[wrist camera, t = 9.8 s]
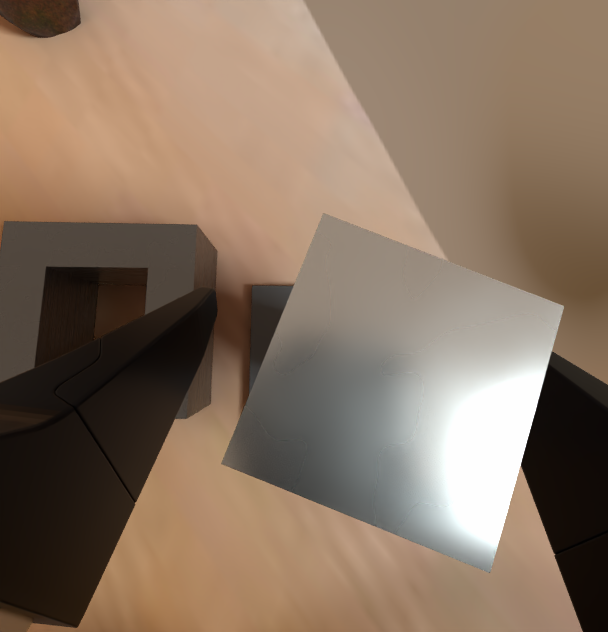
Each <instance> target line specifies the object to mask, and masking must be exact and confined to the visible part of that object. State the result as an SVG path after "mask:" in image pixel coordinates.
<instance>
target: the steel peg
mask: <svg viewBox="0 0 608 632" xmlns="http://www.w3.org/2000/svg"><path fill="white" fill-rule="evenodd" d="M563 308H564V306H562V305H560V304H557V303H554V302H551V301H549V300H547V299H544V298H541V297H539V296H536V295H534V294H531V293H529V292H526V291H523V290H521V289H518V288H516V287H513V286H511V285H508V284H505V283H503V282H500V281H497V280H495V279H492V278H490V277H487V276H485V275H482V274H480V273H477V272H474V271H472V270H469V269H467V268H464V267H461V266H459V265H456V264H453V263H451V262H449V261H446V260H443V259H441V258H438V257H436V256H433V255H431V254H428V253H425V252H423V251H420V250H418V249H415V248H412V247H410V246H407V245H405V244H402V243H400V242H397V241H394V240H392V239H389V238H387V237H384V236H381V235H379V234H376V233H374V232H371V231H369V230H366V229H363V228H361V227H358V226H356V225H353V224H350V223H348V222H345V221H343V220H340V219H338V218H335V217H332V216H330V215H327V214H325V213H323V215H322V218H321V220H320V223H319V225H318V228H317V230H316V232H315V235H314V237H313V240H312V242H311V245H310V247H309V250H308V252H307V255H306V257H305V259H304V262H303V264H302V267H301V269H300V272H299V274H298V277H297V279H296V282H295V284H294V286H293V289H292V291H291V294H290V296H289V299H288V301H287V304H286V306H285V309H284V311H283V313H282V316H281V318H280V321H279V323H278V326H277V328H276V331H275V333H274V336H273V338H272V340H271V343H270V345H269V348H268V350H267V353H266V355H265V358H264V360H263V363H262V365H261V367H260V370H259V372H258V375H257V377H256V380H255V382H254V385H253V387H252V390H251V392H250V394H249V397H248V399H247V402H246V404H245V407H244V409H243V412H242V414H241V416H240V419H239V421H238V424H237V426H236V429H235V431H234V434H233V436H232V439H231V441H230V443H229V446H228V448H227V451H226V453H225V456H224V458H223V461H222V463H221V464H223V465H225V466H228V467H230V468H233V469H235V470H238V471H240V472H243V473H245V474H248V475H250V476H253V477H255V478H257V479H260V480H262V481H265V482H267V483H270V484H272V485H275V486H277V487H280V488H282V489H285V490H287V491H289V492H292V493H294V494H297V495H299V496H302V497H304V498H307V499H309V500H312V501H314V502H316V503H319V504H321V505H324V506H326V507H329V508H331V509H334V510H336V511H339V512H341V513H344V514H346V515H348V516H351V517H353V518H356V519H358V520H361V521H363V522H366V523H368V524H371V525H373V526H376V527H378V528H380V529H383V530H385V531H388V532H390V533H393V534H395V535H398V536H400V537H403V538H405V539H408V540H410V541H412V542H415V543H417V544H420V545H422V546H425V547H427V548H430V549H432V550H435V551H437V552H440V553H442V554H444V555H447V556H449V557H452V558H454V559H457V560H459V561H462V562H464V563H467V564H469V565H472V566H474V567H476V568H479V569H481V570H484V571H486V572H489V573H490V571H491V568H492V564H493V560H494V557H495V553H496V550H497V546H498V542H499V539H500V535H501V532H502V528H503V524H504V521H505V517H506V514H507V510H508V506H509V503H510V499H511V496H512V492H513V488H514V485H515V481H516V478H517V474H518V470H519V467H520V463H521V460H522V456H523V452H524V449H525V445H526V442H527V438H528V434H529V431H530V427H531V424H532V420H533V416H534V413H535V409H536V406H537V402H538V398H539V395H540V391H541V388H542V384H543V380H544V377H545V373H546V370H547V366H548V362H549V359H550V355H551V352H552V348H553V344H554V341H555V337H556V334H557V330H558V327H559V323H560V319H561V316H562V312H563Z"/></svg>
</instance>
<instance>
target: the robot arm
mask: <svg viewBox="0 0 608 632" xmlns="http://www.w3.org/2000/svg"><path fill="white" fill-rule="evenodd" d="M216 317H217V300H216V291H215V289H214V288H209V287H199V288H197V289H195V290H193V291H191V292H189V293H187V294H185V295H183V296H181V297H179V298H177V299H175V300H174V301H172V302H170V303H168V304H166V305H164V306H162V307H160V308H158V309H156V310H154V311H152V312H150V313H148V314H146V315H144V316H142V317H140V318H138V319H136V320H134V321H132V322H130V323H128V324H126V325H124V326H122V327H120V328H118V329H116V330H114V331H112V332H109V333H107V334H105V335H103V336H102V337H101V338H97V339H95V340H93V341H91V342H89V343H87V344H85V345H83V346H81V347H79V348H77V349H75V350H73V351H71V352H69V353H67V354H65V355H62V356H60V357H58V358H56V359H53V360H51V361H49V362H46V363H44V364H42V365H40V366H37V367H35V368H33V369H30V370H28V371H26V372H23V373H21V374H18V375H16V376H14V377H11V378H9V379H7V380H4V381H2V382H0V632H27V631H28V629H29V627H30V625H31V624H32V623H39V624H47V625H56V626H64V627H73V628H77V627H78V626H79V624H80V622H81V620H82V618H83V616H84V614H85V612H86V610H87V607H88V605H89V603H90V601H91V599H92V597H93V595H94V592H95V590H96V588H97V586H98V584H99V582H100V579H101V577H102V575H103V573H104V571H105V569H106V567H107V564H108V562H109V560H110V558H111V556H112V554H113V551H114V549H115V547H116V545H117V543H118V541H119V538H120V536H121V534H122V532H123V530H124V528H125V526H126V523H127V521H128V519H129V517H130V515H131V513H132V510H133V508H134V506H135V502H136V501H137V499H138V497H139V495H140V493H141V491H142V489H143V486H144V484H145V482H146V480H147V478H148V476H149V473H150V471H151V469H152V467H153V465H154V463H155V461H156V458H157V456H158V454H159V452H160V450H161V448H162V445H163V443H164V441H165V439H166V437H167V435H168V433H169V430H170V428H171V426H172V424H173V422H174V420H175V417H176V415H177V413H178V411H179V409H180V407H181V405H182V402H183V400H184V398H185V396H186V394H187V392H188V389H189V387H190V385H191V383H192V381H193V379H194V377H195V374H196V372H197V370H198V368H199V366H200V364H201V361H202V359H203V357H204V354H205V351H206V348H207V345H208V342H209V339H210V336H211V332H212V329H213V326H214V323H215V320H216ZM520 464H521V467H522V470H523V472H524V475H525V478H526V480H527V483H528V486H529V488H530V491H531V494H532V496H533V499H534V502H535V504H536V507H537V510H538V512H539V515H540V518H541V520H542V523H543V526H544V528H545V531H546V534H547V536H548V539H549V542H550V545H551V547H552V550H553V552H554V554H555V559H556V561H557V564H558V567H559V569H560V572H561V575H562V577H563V580H564V583H565V585H566V588H567V591H568V593H569V596H570V599H571V601H572V604H573V607H574V609H575V612H576V615H577V618H578V620H579V623H580V626H581V628H582V631H583V632H608V385H607V384H605V383H604V382H602V381H600V380H599V379H597V378H595V377H594V376H592V375H590V374H588V373H587V372H585V371H584V370H582V369H581V368H579V367H577V366H576V365H573V364H572V363H571V362H569V361H567V360H566V359H564V358H562V357H561V356H559V355H557V354H556V353H554V352H551V355H550V359H549V362H548V366H547V370H546V373H545V377H544V380H543V384H542V388H541V391H540V395H539V398H538V402H537V406H536V409H535V413H534V416H533V420H532V424H531V427H530V431H529V434H528V438H527V442H526V445H525V449H524V452H523V456H522V460H521V463H520Z"/></svg>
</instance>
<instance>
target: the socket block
mask: <svg viewBox="0 0 608 632" xmlns="http://www.w3.org/2000/svg"><path fill="white" fill-rule="evenodd" d="M216 265H217V250H216V249H215V247H214V246H213V245H212V243H211V242H210V241H209V240H208V238H207V237H206V236H205V234H204V233H203V232H202V231H201V229H200V228H199V227H198V225H185V224H128V223H71V222H14V221H4V227H3V234H2V241H1V249H0V382H2V381H4V380H7V379H9V378H11V377H14V376H16V375H18V374H21V373H23V372H26V371H28V370H30V369H33V368H35V367H37V366H40V365H42V364H44V363H46V362H49V361H51V360H53V359H56V358H58V357H60V356H62V355H65V354H67V353H69V352H71V351H73V350H75V349H77V348H79V347H81V346H83V345H85V344H87V343H89V342H91V341H93V336H94V325H95V315H96V304H97V293H98V284H117V285H147V291H146V305H145V315H146V314H148V313H150V312H152V311H154V310H156V309H158V308H160V307H162V306H164V305H166V304H168V303H170V302H172V301H174V300H175V299H177V298H179V297H181V296H183V295H185V294H187V293H189V292H191V291H193V290H195V289H197V288H199V287H209V288H214V289H215V288H216ZM213 334H214V326H213V329H212V332H211V336H210V339H209V342H208V345H207V348H206V351H205V354H204V357H203V359H202V361H201V364H200V366H199V368H198V370H197V372H196V374H195V377H194V379H193V381H192V383H191V385H190V387H189V389H188V392H187V394H186V396H185V398H184V400H183V402H182V405H181V407H180V409H179V411H178V413H177V415H176V417H175V419H187V418H189V417H190V416H192V415H194V414H195V413H197V412H198V411H200V410H202V409H203V408H205V407H207V406H208V405H210V404H211V380H212V357H213Z"/></svg>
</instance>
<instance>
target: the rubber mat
mask: <svg viewBox="0 0 608 632" xmlns="http://www.w3.org/2000/svg"><path fill="white" fill-rule="evenodd" d="M292 289H293V286H252V311H251V348H250V384H249V394H250V392H251V390H252V387H253V385H254V382H255V380H256V377H257V375H258V372H259V370H260V367H261V365H262V363H263V360H264V358H265V355H266V353H267V350H268V348H269V345H270V343H271V340H272V338H273V336H274V333H275V331H276V328H277V326H278V323H279V321H280V318H281V316H282V313H283V311H284V309H285V306H286V304H287V301H288V299H289V296H290V294H291V291H292Z"/></svg>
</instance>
